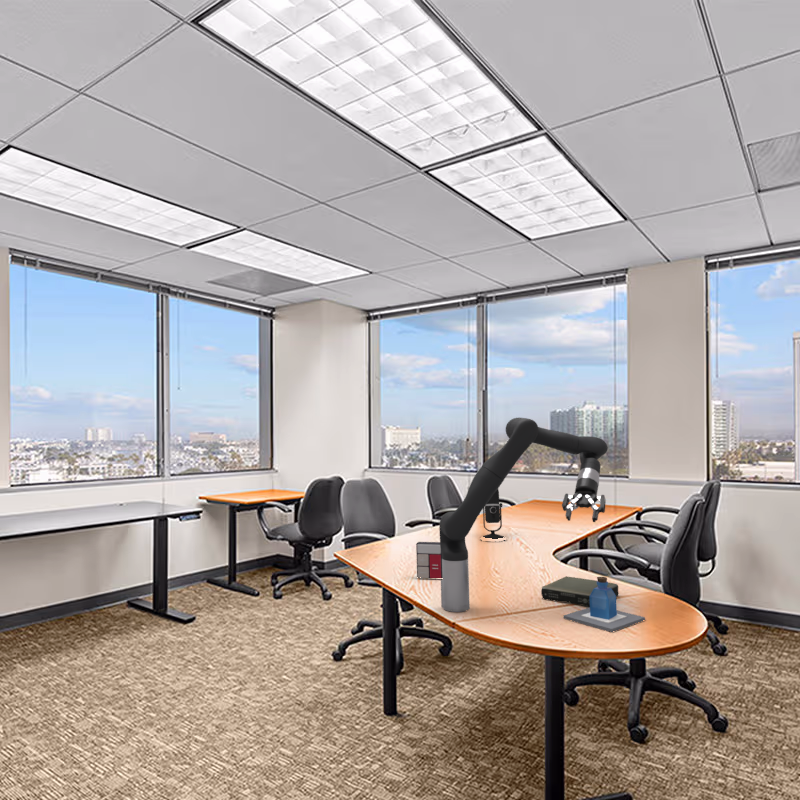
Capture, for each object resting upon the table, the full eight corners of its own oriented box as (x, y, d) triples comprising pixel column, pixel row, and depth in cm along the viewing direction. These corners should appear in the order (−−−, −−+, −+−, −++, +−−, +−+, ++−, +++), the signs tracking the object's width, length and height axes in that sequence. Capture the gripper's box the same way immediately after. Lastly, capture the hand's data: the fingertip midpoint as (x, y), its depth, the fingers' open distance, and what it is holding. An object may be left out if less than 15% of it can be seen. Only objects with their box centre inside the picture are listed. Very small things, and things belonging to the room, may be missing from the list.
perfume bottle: (590, 615, 192) (588, 578, 193) (598, 611, 197) (597, 574, 198) (608, 619, 188) (607, 581, 189) (616, 615, 193) (615, 577, 193)
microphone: (480, 542, 334) (479, 488, 336) (478, 537, 350) (476, 486, 352) (508, 542, 334) (507, 488, 335) (504, 537, 349) (503, 485, 351)
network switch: (621, 595, 222) (620, 581, 222) (604, 611, 202) (603, 596, 203) (559, 587, 235) (559, 574, 235) (538, 602, 215) (537, 588, 215)
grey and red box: (416, 579, 251) (415, 543, 252) (418, 576, 256) (417, 541, 257) (442, 580, 249) (441, 544, 250) (443, 577, 253) (443, 542, 254)
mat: (563, 618, 194) (563, 614, 194) (596, 608, 205) (596, 604, 205) (611, 632, 180) (611, 628, 180) (645, 620, 190) (645, 616, 190)
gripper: (565, 476, 215) (557, 512, 205) (606, 477, 208) (600, 514, 198) (569, 489, 220) (562, 525, 209) (609, 490, 212) (604, 528, 202)
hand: (580, 519), depth 203 cm, fingers open, 8 cm apart
